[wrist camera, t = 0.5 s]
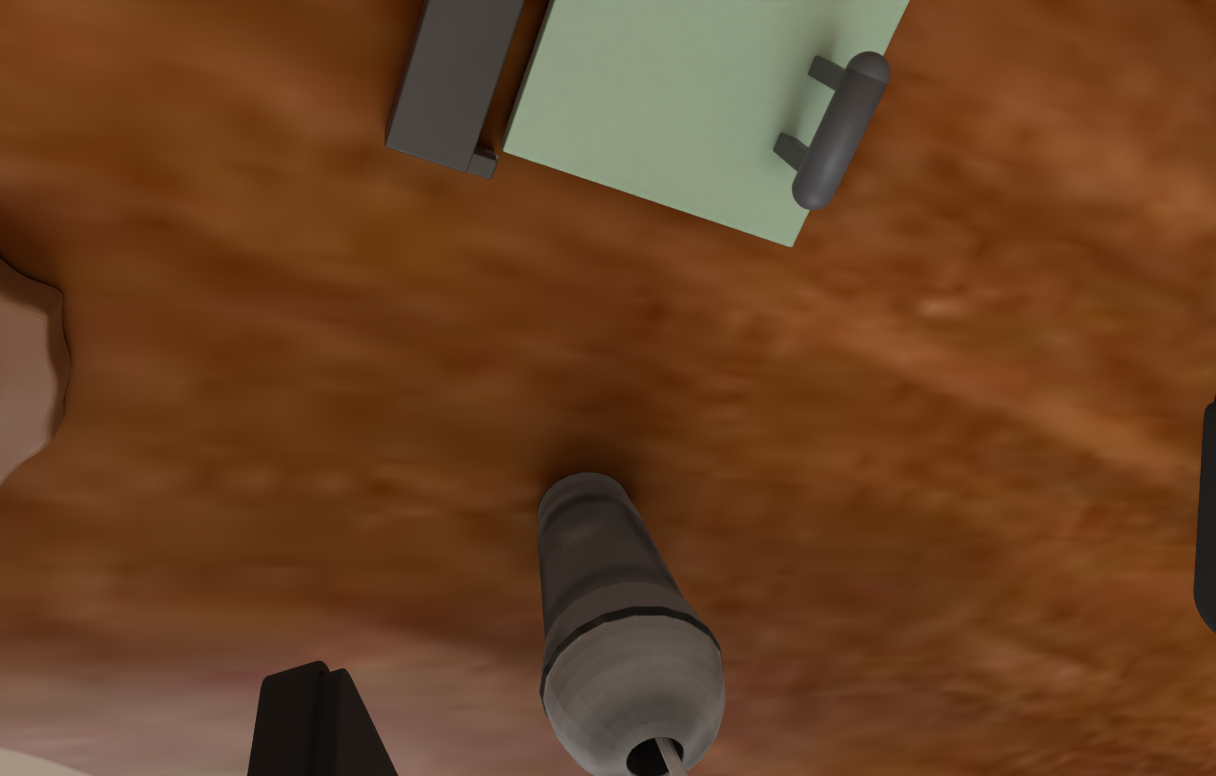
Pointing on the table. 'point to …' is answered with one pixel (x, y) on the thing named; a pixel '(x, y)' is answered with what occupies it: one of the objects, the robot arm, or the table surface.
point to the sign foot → (452, 82)
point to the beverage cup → (620, 639)
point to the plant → (29, 368)
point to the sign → (707, 101)
